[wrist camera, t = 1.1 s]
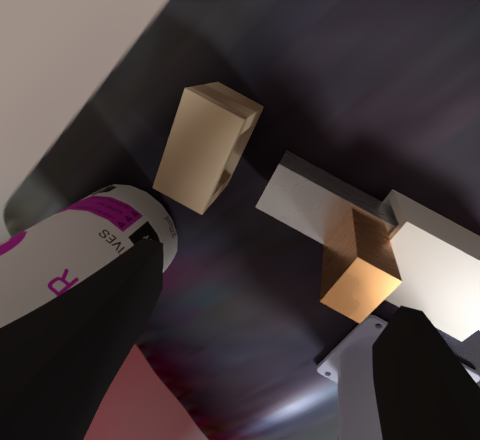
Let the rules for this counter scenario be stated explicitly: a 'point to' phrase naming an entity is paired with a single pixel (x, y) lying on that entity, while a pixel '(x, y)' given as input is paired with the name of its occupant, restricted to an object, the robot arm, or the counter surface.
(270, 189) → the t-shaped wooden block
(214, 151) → the oak socket
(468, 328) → the white rectangular block
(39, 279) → the supplement can
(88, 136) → the counter surface
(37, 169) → the counter surface
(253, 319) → the counter surface
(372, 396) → the robot arm
